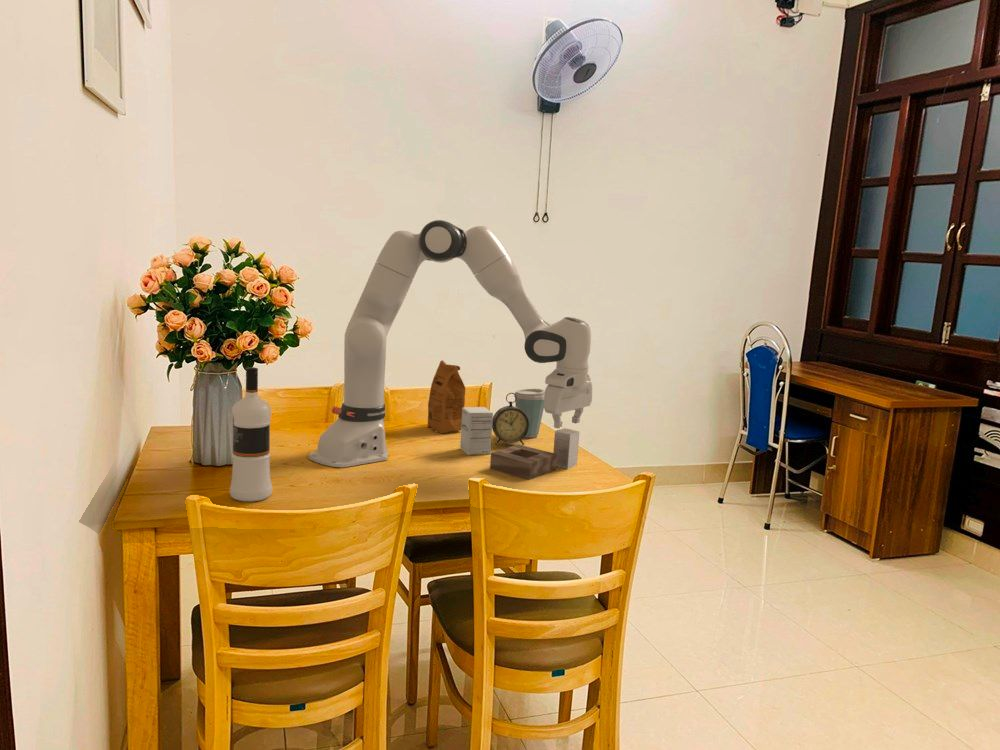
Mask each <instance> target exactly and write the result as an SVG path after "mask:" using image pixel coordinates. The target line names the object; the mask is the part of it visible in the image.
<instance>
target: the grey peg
mask: <svg viewBox="0 0 1000 750" xmlns="http://www.w3.org/2000/svg"><path fill="white" fill-rule="evenodd" d="M580 433H581V432H580V431H579V430H575V429H570V428H566V427H563V428H559V429H557V430H555V431H554V439H553V450H552V451H553V452H552V453H555V454H557V462H556V467H557V466H558V467H557V468H560V467H562V468H561V469H564V468H566V469H565V470H569V469H568V468H570V469H572V468H574V467H573V466H575V465H577V466H578V458H579V457H578V455H579V445H580V444H579V443H580V442H579V441H580ZM571 467H572V468H571ZM575 467H576V466H575Z"/></svg>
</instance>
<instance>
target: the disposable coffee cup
mask: <svg viewBox="0 0 1000 750" xmlns="http://www.w3.org/2000/svg"><path fill="white" fill-rule="evenodd" d="M514 394H515V395H516V396H517V399H516V397H515V395H514ZM514 394H513V397H514V401H515V399H516V401H515V402H514V403H515V407H517V408H519V409H520V410H522V411H523V412H524V413H525V414H526V415H527V417H528V420H529V429H528V432H527V434H526V435H525V437H524V438H528V439H529V438H531V439H532V438H536V437H538V435H539V433H540V428H541V423H542V419H543V414H544V411H545V410H544V396H545V389H541V388H523V389H518V390H516V391H515V392H514Z"/></svg>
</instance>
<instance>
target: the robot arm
mask: <svg viewBox="0 0 1000 750" xmlns="http://www.w3.org/2000/svg"><path fill="white" fill-rule="evenodd" d="M383 245H384V246H383V248H382V249H381V250H380V253H379V254H378V257H377V258H376V261H375V263H374V266H373V267H372V270H371V272H370V274H369V276H368V279H367V281H366V283H365V286H364V288H363V290H362V293H361V295H360V297H359V299H358V302H357V304H356V306H355V309H354V311H353V313H352V315H351V317H350V319H349V322H348V323H347V326H346V328H345V332H344V342H343V343H344V346H343V347H344V348H343V349H344V351H343V352H344V353H343V354H344V355H343V356H344V357H343V358H344V360H343V361H344V362H343V363H344V368H343V369H344V370H343V371H344V379H343V380H344V381H343V382H344V383H343V402H342V404H341V406H340V407H338V406H332V407H331V410H330V411H331V413H332V414H334V415H338V416H337V417H338V418H337V419H336V420H335V421H334V422H333V423H332V424H330V426H329V427H328V428H327V429H325V431H324V432H322V434H320V436H319V438H318V441H317V442H318V443H317V450H316V451H313V452H310V453H309V454H308V459H310V461H312V462H315V463H317V464H321V465H324V466H328V467H332V468H333V467H335V468H349V467H353V466H359V465H364V464H371V463H375V462H381V461H383V462H384V461H387V460H388V459H389V457H388V455H389V451H388V448H387V441H386V431H385V423H384V421H385V420H384V418H386V404H385V383H386V382H385V381H386V380H385V379H386V360H387V358H386V355H387V336H388V334H389V331H390V330H391V328H392V325H393V323H394V321H395V319H396V317H397V315H398V313H399V312H400V310H401V307H402V305H403V303H404V300H405V298H406V296H407V294H408V292H409V289H410V288H411V285H412V283H413V281H414V278H415V277H416V276H415V275H416V273H417V272H418V269H419V267H420V266H421V265H422V264H423V262H424V261H431V262H435V263H441V264H442V263H447V262H450V261H452V260H453V259H460V260H461V261H463V262H464V263H465V264H466V265H467V267H468V268H469V270H470V271H471V272H472V275H473V276H474V278H475V279H476V281H477V282H478V284H479V285H480V286H481V287H482V288H483V289H484V290H485V291H486V293H487V294H488V295H490V296H491V297H492V298H495V299H496V300H498V301H500V302H501V303H502V304H503V305H505V306H506V308H508V310H509V312H510V313H511V314H512V315H513V318H514V319H515V320H516V322H517V324H518V325H519V327H520V329H522V332H523V335H524V339H525V341H524V344H523V345H524V351H525V352H524V353H525V354H526V356H527V357H528V358H529V359H530V360H531V361H533V362H535V363H538V364H547V363H548V364H549V363H554V362H555V363H556V367H555V369H554V370H553V371H551V372H550V373H549V374H548V375H547V376H546V377H545V380H544V383H545V385H547V386H546V387H545V389H544V390H545V396H544V410H543V411H545V413H546V414H551V415H552V419H553V427H554V429H562V427H563V421H562V420H561V417H562V414H563V413H566V412H571V411H574V413H573V415H572V417H571V423H572V424H579V423H580V421H581V416H582V414H583V412H584V408H586V407H590V406H591V404H592V401H593V384H592V382H591V377H590V376H589V374H588V373H589V355H590V353H591V345H592V344H591V343H592V341H591V340H592V332H591V327H590V325H589V324H588V322H586V321H584V320H582V319H579V318H575V317H572V316H571V317H569V316H566V317H563V318H562V319H560V320H559V321H557V322H554V323H552V324H550V323H548V322H546V321H545V320H544V319H543V318H542V317H541V316H540V314H539V312H538V310H536V308H535V306H534V305H533V303H532V302H531V300H530V299H529V297H528V296H527V293H526V291H525V289H524V286H523V284H522V280H521V277H520V274H519V271H518V269H517V266H516V264H515V263H514V260H513V259H512V258H511V256H510V254H509V252H508V251H507V249H506V248H505V247H504V245H503V244H502V242H501V241H500V240H499V239H498V237H497V236H496V235H495V234H494V233H493V232H492V231H491V230H490V229H489V228H488V227H487V226H483V225H477V226H473V227H471V228H469V229H468V230H463V228H460V227H458V226H457V225H455V224H453V223H450V221H446V220H442V219H440V220H439V219H435V220H432V221H430V222H428V223H427V224H425V225H424V226H423V228H422V230H420V232H419V233H413V232H410V231H407V230H397V231H395V232H393V233H392V234H391V235H390V236H389V238H388V240H387V241H386V243H385V244H383Z"/></svg>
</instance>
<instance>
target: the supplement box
mask: <svg viewBox="0 0 1000 750" xmlns="http://www.w3.org/2000/svg"><path fill="white" fill-rule="evenodd" d="M493 416H494V413H493V412H492V411H491V410H490V409H488V408H487V407H486V406H469V407H468V406H464V407H463V408H462V425H461V430H460V442H459V443H460V446H459V448H460V449H461V450H462V451H463V452H464V453H465V454H466V455H468V456H472V455H471V454H482V455H491V453H492V436H493V435H492V433H493V429H492V422H493Z"/></svg>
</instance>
